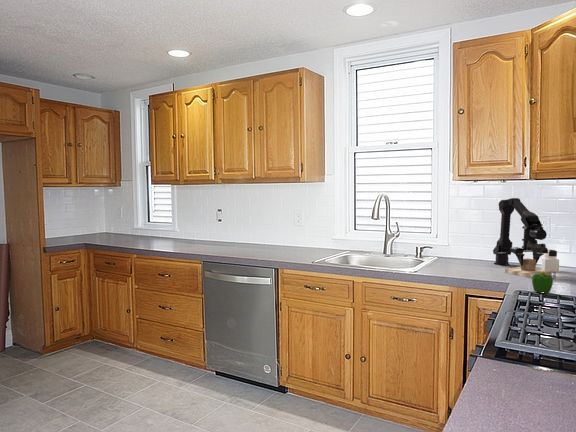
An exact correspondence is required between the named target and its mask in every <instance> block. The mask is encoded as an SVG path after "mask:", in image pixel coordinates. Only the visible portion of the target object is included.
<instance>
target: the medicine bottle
mask: <svg viewBox="0 0 576 432" xmlns="http://www.w3.org/2000/svg"><path fill="white" fill-rule="evenodd" d="M543 254H544V255H543V256H541V261H540V263H541V264H540V265H541V267H540V270H546V271H551V272H552V273H559V272H560V259H559V258H558V251H557V250H555V249H548V253H543Z"/></svg>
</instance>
